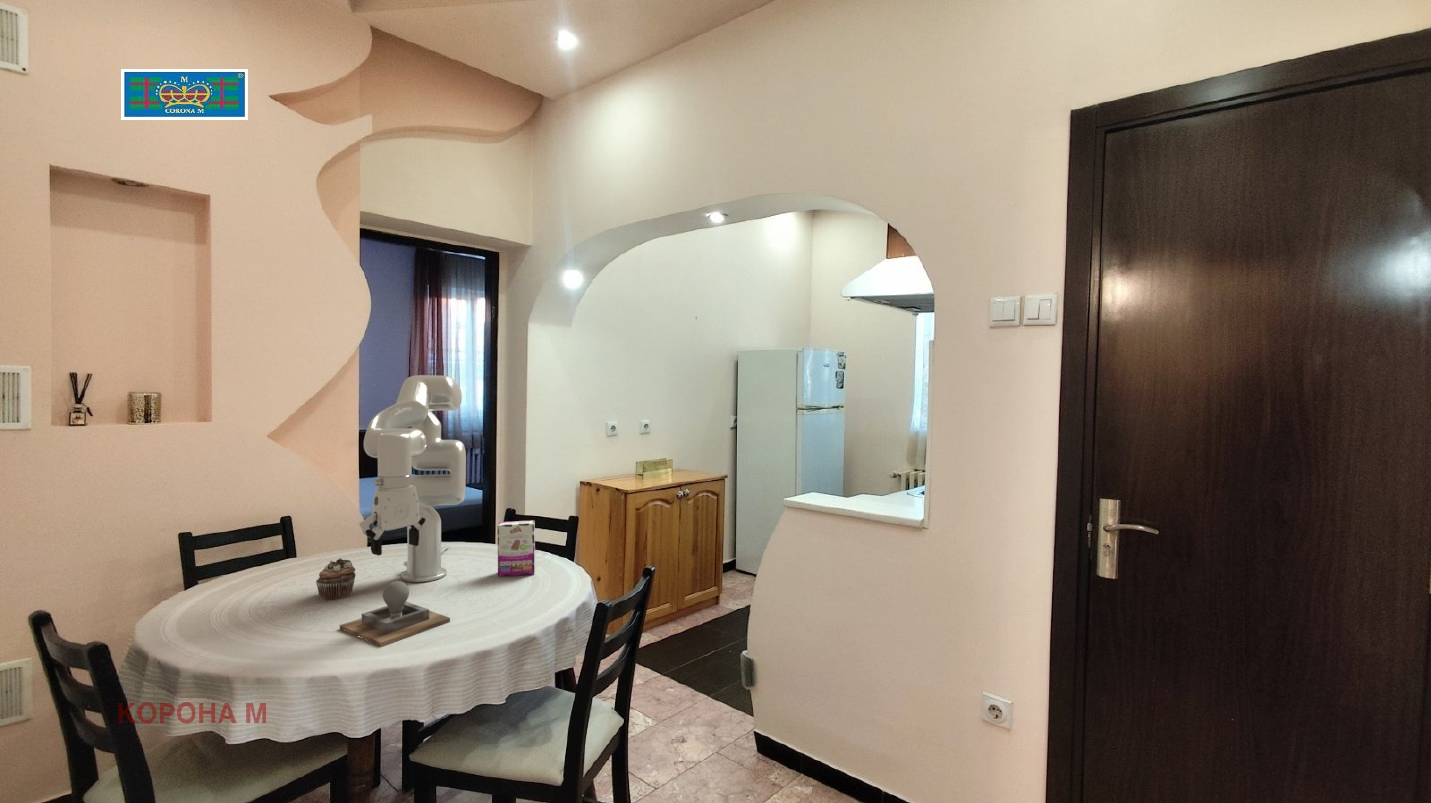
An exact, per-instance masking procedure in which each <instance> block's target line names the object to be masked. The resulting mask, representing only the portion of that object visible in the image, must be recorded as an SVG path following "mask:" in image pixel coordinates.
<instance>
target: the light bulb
mask: <svg viewBox="0 0 1431 803" xmlns="http://www.w3.org/2000/svg"><path fill="white" fill-rule="evenodd" d="M409 596H410V588H409V586H408V585H407V584H406V582H403V581H398V580H396V581H392V582H390V583H389V584H387V585H386V586H385V588H384V589H383V591H382V599H383V601H384V603H385V604H386V606H388V608H389V612H390V617H391V618H390V620H392V619H395V618H398V617H401V616H402V610H403V607H404V604H405V602H408V599H409Z"/></svg>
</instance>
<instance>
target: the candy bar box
mask: <svg viewBox="0 0 1431 803" xmlns="http://www.w3.org/2000/svg"><path fill="white" fill-rule="evenodd" d="M535 523H536V522H535V520H518V521H514V520H513V521H500V522H498V524H497V576H498V577H499V576H501V577H513V576H515V577H516V576H517V577H518V576H525V575H526V576H530V574H532V575H535V570H536V539H535V538H536V535H535V534H536V533H535V531H536V530H535V525H536V524H535Z"/></svg>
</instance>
